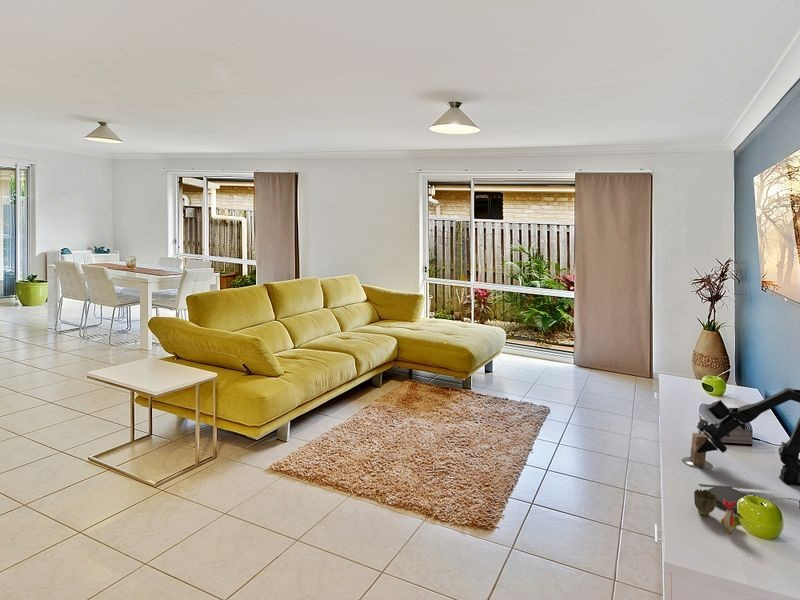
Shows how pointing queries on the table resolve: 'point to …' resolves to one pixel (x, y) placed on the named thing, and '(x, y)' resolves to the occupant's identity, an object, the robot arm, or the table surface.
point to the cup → (704, 501)
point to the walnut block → (697, 442)
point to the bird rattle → (730, 517)
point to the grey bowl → (689, 463)
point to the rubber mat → (712, 486)
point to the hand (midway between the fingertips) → (695, 449)
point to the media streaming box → (726, 496)
